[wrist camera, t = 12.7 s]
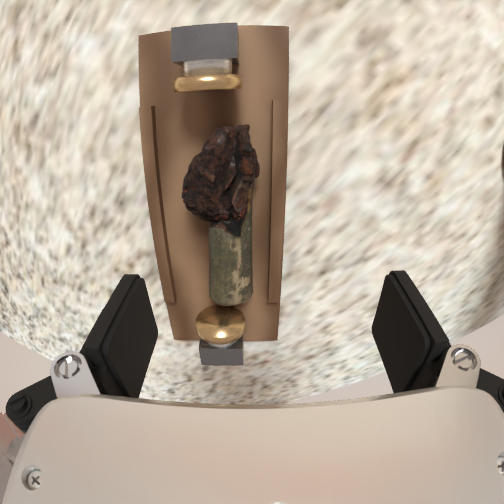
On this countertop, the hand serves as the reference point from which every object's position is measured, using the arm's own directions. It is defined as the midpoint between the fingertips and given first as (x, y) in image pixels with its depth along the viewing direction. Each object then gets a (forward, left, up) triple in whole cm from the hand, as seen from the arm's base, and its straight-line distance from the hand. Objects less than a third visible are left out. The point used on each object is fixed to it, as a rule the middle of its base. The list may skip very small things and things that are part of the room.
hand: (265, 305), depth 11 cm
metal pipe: (+3, +4, -21) cm, 21 cm away
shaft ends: (+4, +4, -20) cm, 21 cm away
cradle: (+4, +4, -22) cm, 22 cm away
